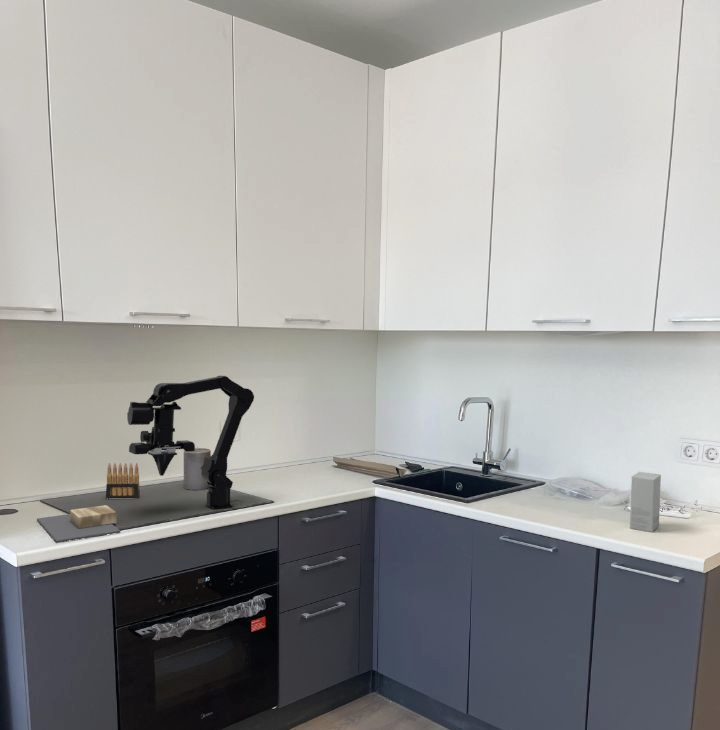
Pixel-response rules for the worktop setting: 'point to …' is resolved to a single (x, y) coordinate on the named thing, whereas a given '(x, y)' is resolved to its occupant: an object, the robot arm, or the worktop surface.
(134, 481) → the ammunition clip
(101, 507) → the wooden block
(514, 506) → the worktop surface
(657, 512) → the skincare box
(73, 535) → the rubber mat
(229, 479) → the robot arm
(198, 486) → the pillar candle
